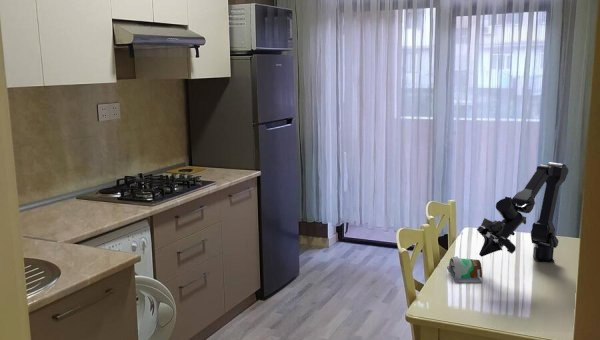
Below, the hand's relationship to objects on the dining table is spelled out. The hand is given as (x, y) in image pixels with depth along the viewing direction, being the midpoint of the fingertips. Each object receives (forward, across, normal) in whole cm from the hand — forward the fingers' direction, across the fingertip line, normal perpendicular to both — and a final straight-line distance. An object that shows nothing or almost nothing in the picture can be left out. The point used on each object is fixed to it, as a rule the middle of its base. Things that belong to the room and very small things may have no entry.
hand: (480, 255), depth 212 cm
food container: (+3, 0, +3) cm, 4 cm away
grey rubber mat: (+9, -1, +2) cm, 10 cm away
